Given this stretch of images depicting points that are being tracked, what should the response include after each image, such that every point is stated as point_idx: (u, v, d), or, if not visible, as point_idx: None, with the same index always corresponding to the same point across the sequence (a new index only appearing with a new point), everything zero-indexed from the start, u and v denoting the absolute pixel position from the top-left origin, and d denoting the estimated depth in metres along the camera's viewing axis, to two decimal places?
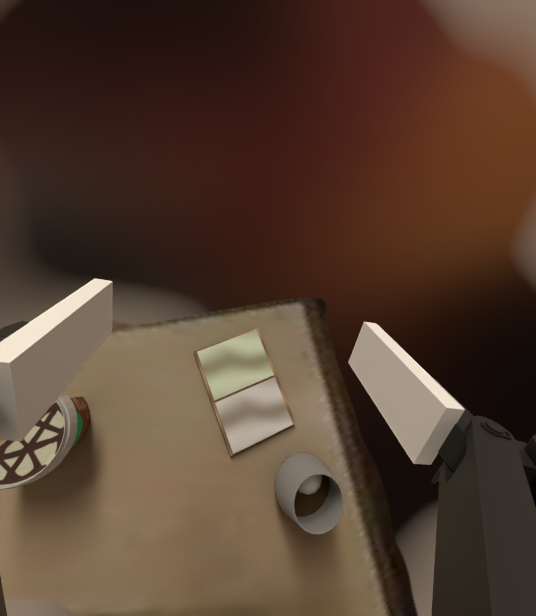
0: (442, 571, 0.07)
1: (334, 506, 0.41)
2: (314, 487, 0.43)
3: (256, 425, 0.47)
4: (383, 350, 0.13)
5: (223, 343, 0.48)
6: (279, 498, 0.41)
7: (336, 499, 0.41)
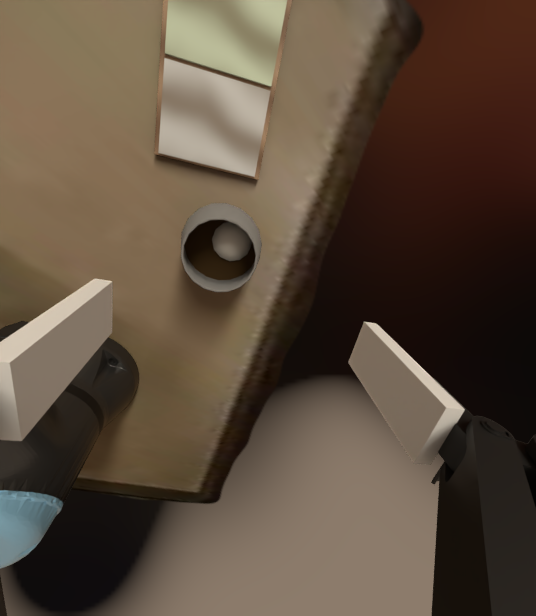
0: (442, 571, 0.07)
1: (239, 281, 0.32)
2: (231, 253, 0.33)
3: (207, 140, 0.31)
4: (383, 350, 0.13)
5: None
6: (182, 232, 0.31)
7: (245, 276, 0.32)
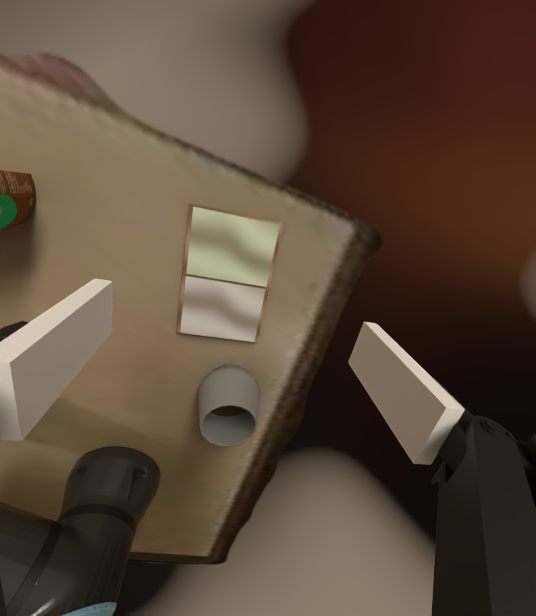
0: (442, 571, 0.07)
1: (243, 428, 0.41)
2: None
3: (217, 322, 0.41)
4: (383, 350, 0.13)
5: (230, 216, 0.35)
6: (199, 395, 0.40)
7: (248, 425, 0.41)
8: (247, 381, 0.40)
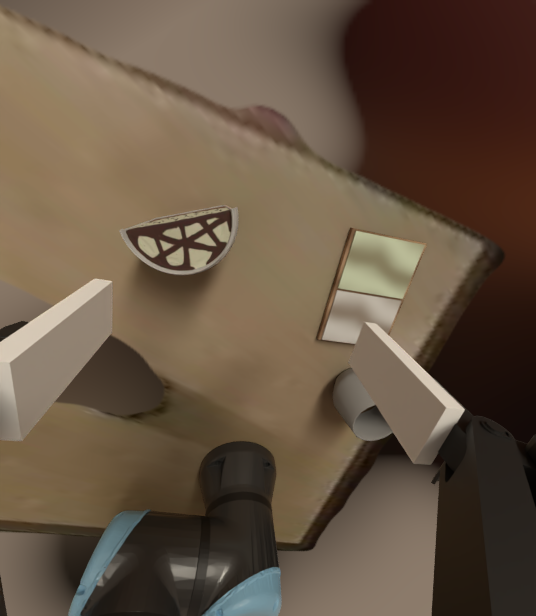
0: (442, 571, 0.07)
1: (376, 424, 0.46)
2: None
3: (355, 330, 0.46)
4: (383, 350, 0.13)
5: (385, 239, 0.40)
6: (340, 395, 0.45)
7: (381, 422, 0.46)
8: None
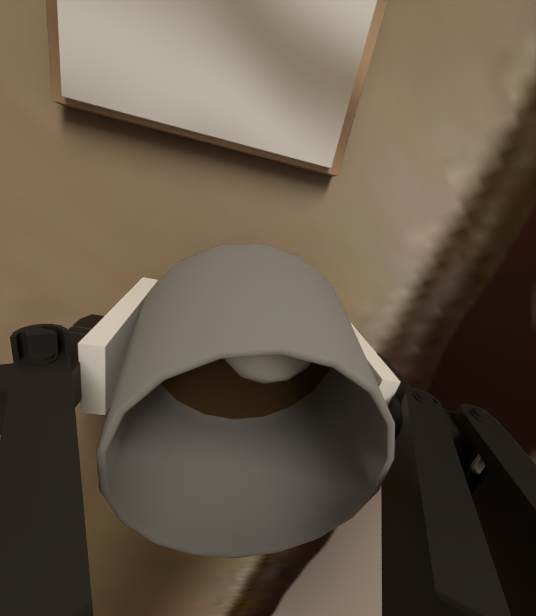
0: (389, 542, 0.07)
1: (297, 464, 0.11)
2: (271, 377, 0.12)
3: (205, 58, 0.11)
4: None
5: None
6: (132, 335, 0.10)
7: (318, 455, 0.11)
8: (321, 283, 0.10)
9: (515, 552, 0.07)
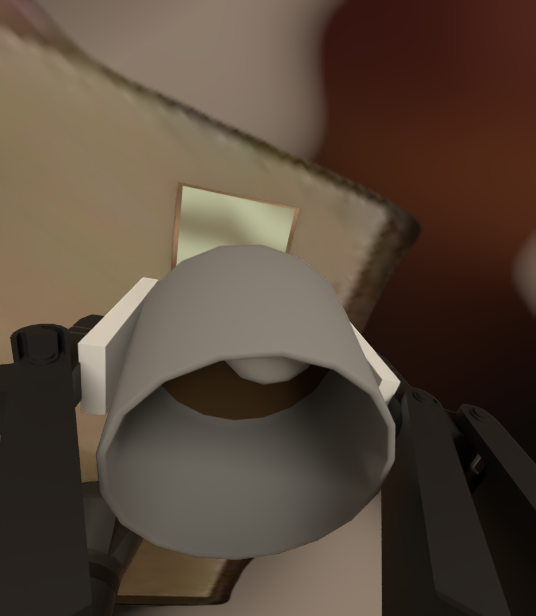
0: (388, 542, 0.07)
1: (297, 465, 0.11)
2: (272, 378, 0.12)
3: None
4: None
5: (231, 199, 0.27)
6: (132, 336, 0.10)
7: (318, 456, 0.11)
8: (321, 284, 0.10)
9: (515, 552, 0.07)
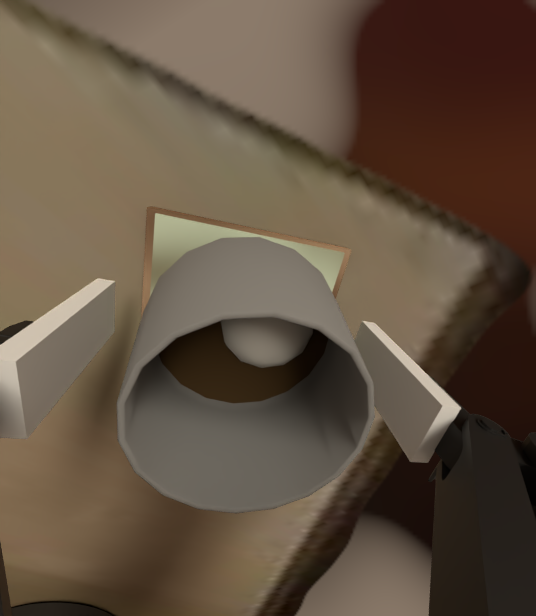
0: (439, 569, 0.07)
1: (292, 438, 0.12)
2: (268, 359, 0.13)
3: None
4: (381, 349, 0.13)
5: (240, 236, 0.16)
6: (142, 317, 0.11)
7: (310, 428, 0.12)
8: (312, 271, 0.11)
9: None
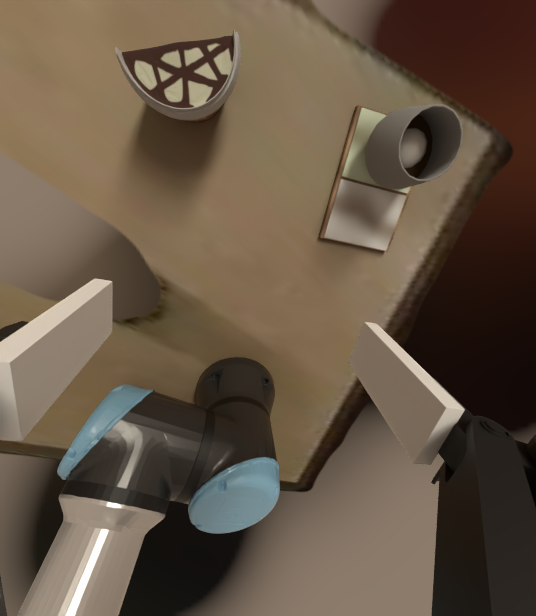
0: (442, 571, 0.07)
1: None
2: (412, 156, 0.36)
3: (358, 228, 0.44)
4: (383, 350, 0.13)
5: None
6: (379, 131, 0.34)
7: (430, 174, 0.35)
8: None
9: None
